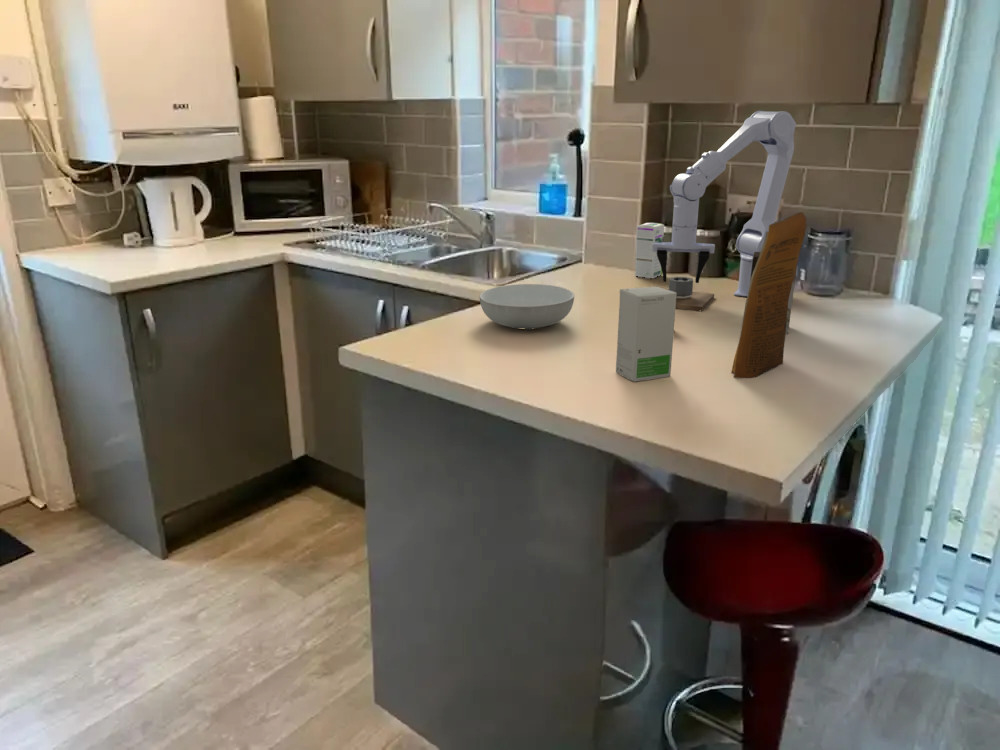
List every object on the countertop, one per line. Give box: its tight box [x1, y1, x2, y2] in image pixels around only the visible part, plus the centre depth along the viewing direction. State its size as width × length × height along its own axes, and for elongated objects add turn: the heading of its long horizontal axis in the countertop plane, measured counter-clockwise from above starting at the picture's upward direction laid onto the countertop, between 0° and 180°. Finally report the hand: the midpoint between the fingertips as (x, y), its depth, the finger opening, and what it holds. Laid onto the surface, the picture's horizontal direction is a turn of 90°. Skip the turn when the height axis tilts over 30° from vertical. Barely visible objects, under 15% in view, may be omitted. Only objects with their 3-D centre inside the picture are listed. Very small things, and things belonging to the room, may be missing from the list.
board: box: [665, 288, 715, 312], centre depth 192 cm, size 14×14×1 cm
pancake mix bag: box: [731, 211, 807, 379], centre depth 140 cm, size 7×19×28 cm, turn 135°
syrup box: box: [634, 222, 665, 279], centre depth 217 cm, size 6×6×14 cm
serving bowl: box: [479, 283, 575, 330], centre depth 173 cm, size 21×21×7 cm
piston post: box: [676, 280, 691, 300], centre depth 191 cm, size 5×5×4 cm
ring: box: [668, 276, 694, 296], centre depth 191 cm, size 6×6×4 cm
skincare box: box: [615, 286, 677, 383], centre depth 140 cm, size 8×7×16 cm
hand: (680, 281), depth 191 cm, fingers open, 7 cm apart
